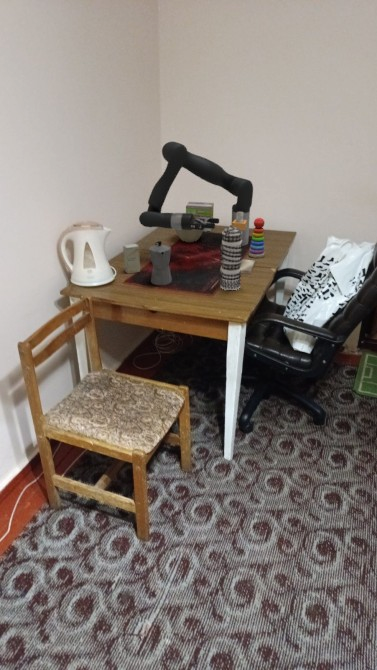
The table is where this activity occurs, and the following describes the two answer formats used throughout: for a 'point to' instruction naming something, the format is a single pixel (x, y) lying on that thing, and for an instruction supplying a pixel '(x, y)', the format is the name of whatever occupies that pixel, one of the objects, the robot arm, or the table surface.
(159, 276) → the coffeepot
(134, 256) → the skincare box
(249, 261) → the post stand
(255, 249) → the stacking toy
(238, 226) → the collar
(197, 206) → the tea box
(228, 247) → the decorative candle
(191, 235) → the beige bowl
